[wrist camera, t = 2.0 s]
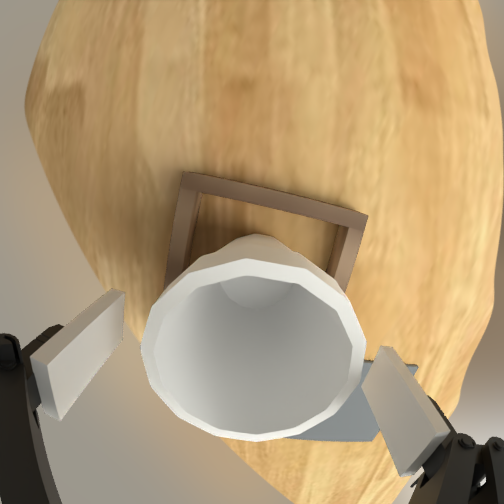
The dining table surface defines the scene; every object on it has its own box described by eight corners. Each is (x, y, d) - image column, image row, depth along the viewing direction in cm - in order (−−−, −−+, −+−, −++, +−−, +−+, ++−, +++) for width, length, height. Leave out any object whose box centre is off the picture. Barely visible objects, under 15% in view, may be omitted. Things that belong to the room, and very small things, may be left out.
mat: (314, 353, 26) (315, 356, 25) (417, 364, 26) (418, 367, 26) (279, 434, 29) (279, 437, 28) (371, 439, 29) (371, 441, 29)
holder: (191, 171, 22) (183, 171, 20) (357, 211, 22) (368, 215, 20) (166, 324, 25) (158, 337, 23) (311, 354, 26) (315, 370, 23)
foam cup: (218, 333, 25) (189, 447, 13) (183, 233, 23) (106, 294, 11) (324, 307, 25) (371, 414, 12) (300, 201, 22) (349, 230, 10)
